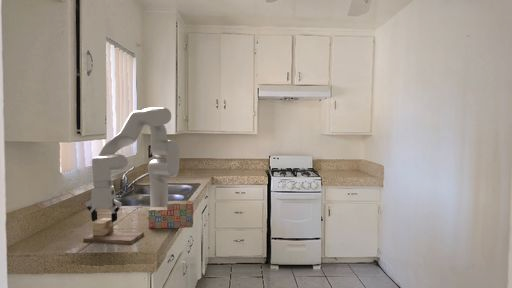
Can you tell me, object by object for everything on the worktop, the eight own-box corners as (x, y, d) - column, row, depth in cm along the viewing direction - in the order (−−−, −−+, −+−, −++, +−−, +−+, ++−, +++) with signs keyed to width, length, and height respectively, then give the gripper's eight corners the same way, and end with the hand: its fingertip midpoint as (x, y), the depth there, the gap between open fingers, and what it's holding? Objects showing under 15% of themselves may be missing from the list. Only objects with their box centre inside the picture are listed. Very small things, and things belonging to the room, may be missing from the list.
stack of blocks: (148, 228, 170) (147, 204, 169) (151, 225, 176) (150, 201, 175) (192, 227, 172) (192, 203, 171) (193, 224, 178) (193, 200, 177)
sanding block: (103, 230, 161) (103, 218, 161) (113, 231, 161) (113, 218, 160) (93, 236, 153) (92, 222, 153) (103, 236, 153) (103, 223, 152)
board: (99, 233, 163) (99, 229, 162) (143, 235, 159) (143, 232, 159) (83, 241, 151) (83, 238, 151) (130, 244, 148) (130, 240, 147)
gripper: (124, 182, 158) (126, 218, 160) (89, 181, 161) (92, 217, 162) (115, 186, 151) (117, 224, 152) (79, 185, 153) (81, 222, 155)
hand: (104, 220), depth 157 cm, fingers open, 9 cm apart
